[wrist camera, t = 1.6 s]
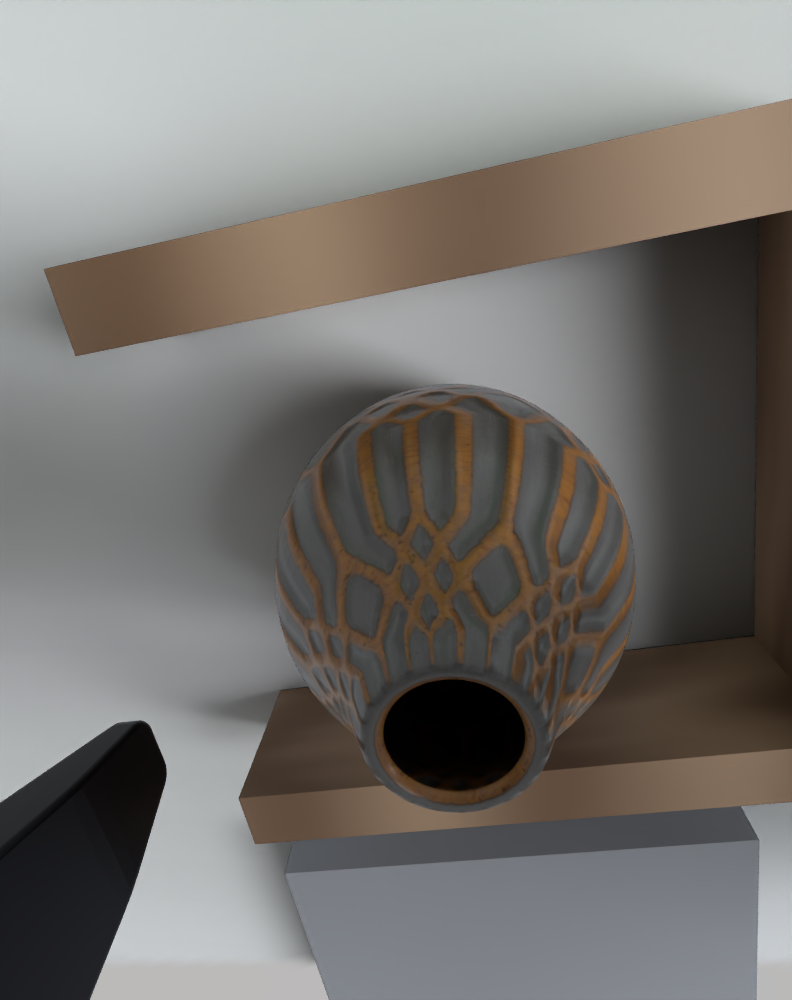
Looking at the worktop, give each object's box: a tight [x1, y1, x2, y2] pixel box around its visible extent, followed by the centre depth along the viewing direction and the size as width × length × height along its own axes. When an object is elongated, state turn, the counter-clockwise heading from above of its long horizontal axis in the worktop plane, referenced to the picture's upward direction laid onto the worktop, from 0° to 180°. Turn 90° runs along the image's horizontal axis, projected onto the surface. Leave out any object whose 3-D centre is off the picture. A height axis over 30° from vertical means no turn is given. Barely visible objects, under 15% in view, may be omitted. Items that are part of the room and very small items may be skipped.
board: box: [285, 806, 759, 1000], centre depth 21 cm, size 14×14×2 cm
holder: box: [44, 99, 792, 844], centre depth 14 cm, size 15×14×4 cm
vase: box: [275, 384, 636, 813], centre depth 12 cm, size 7×7×9 cm
